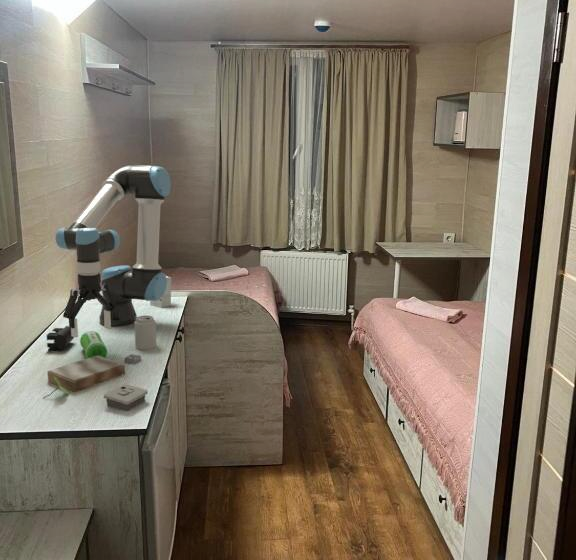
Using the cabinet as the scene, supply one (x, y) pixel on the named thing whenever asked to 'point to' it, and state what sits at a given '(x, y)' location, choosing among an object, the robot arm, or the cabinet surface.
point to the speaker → (93, 344)
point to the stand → (86, 373)
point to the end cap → (59, 338)
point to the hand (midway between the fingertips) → (91, 332)
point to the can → (145, 333)
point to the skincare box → (164, 296)
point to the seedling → (59, 387)
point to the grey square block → (132, 358)
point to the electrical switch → (125, 397)
